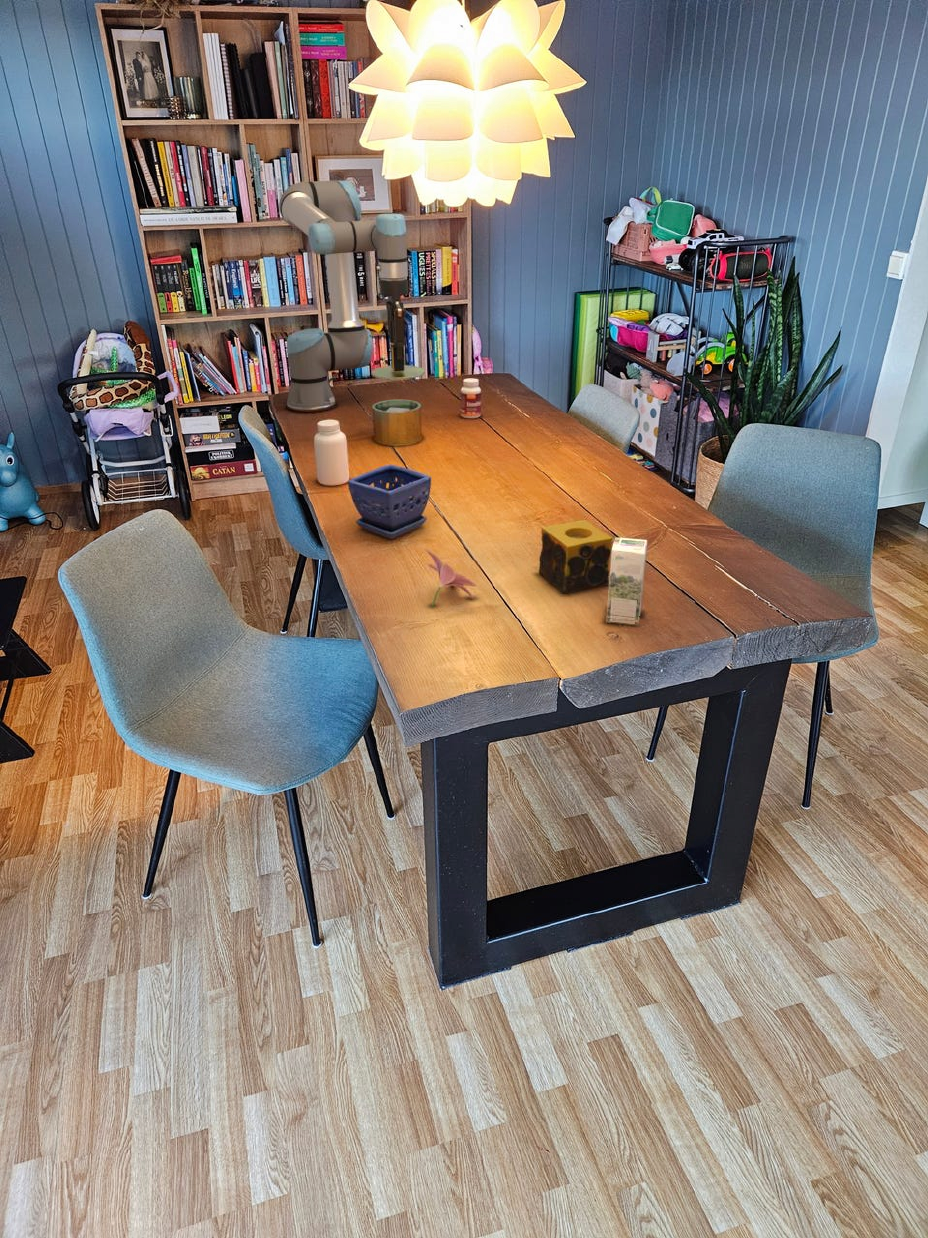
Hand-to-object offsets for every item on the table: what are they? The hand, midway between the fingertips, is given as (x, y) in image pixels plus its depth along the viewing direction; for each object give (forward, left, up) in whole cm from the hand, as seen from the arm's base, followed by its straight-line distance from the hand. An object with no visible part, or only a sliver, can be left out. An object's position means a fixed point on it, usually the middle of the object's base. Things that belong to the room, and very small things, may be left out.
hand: (397, 369), depth 242 cm
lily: (+100, -11, -20) cm, 102 cm away
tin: (0, -1, -20) cm, 20 cm away
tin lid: (0, 0, -1) cm, 1 cm away
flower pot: (+64, -15, -20) cm, 69 cm away
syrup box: (+116, +17, -20) cm, 119 cm away
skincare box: (-1, -1, -19) cm, 19 cm away
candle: (+99, +14, -20) cm, 102 cm away
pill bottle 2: (-16, +25, -20) cm, 36 cm away
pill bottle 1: (+30, -23, -20) cm, 43 cm away
